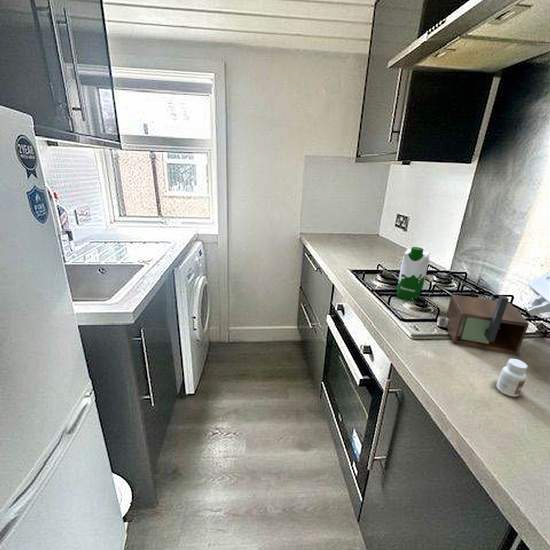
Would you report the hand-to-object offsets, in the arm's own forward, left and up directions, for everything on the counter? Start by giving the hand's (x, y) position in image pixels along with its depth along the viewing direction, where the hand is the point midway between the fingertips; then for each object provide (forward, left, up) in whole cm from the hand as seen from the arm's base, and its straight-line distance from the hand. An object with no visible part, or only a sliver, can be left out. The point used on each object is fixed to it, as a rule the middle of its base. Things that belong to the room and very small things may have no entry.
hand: (527, 311), depth 78 cm
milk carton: (+24, -32, -14) cm, 42 cm away
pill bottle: (+6, +16, -14) cm, 22 cm away
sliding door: (+8, -1, -13) cm, 15 cm away
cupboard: (+6, -9, -14) cm, 18 cm away
